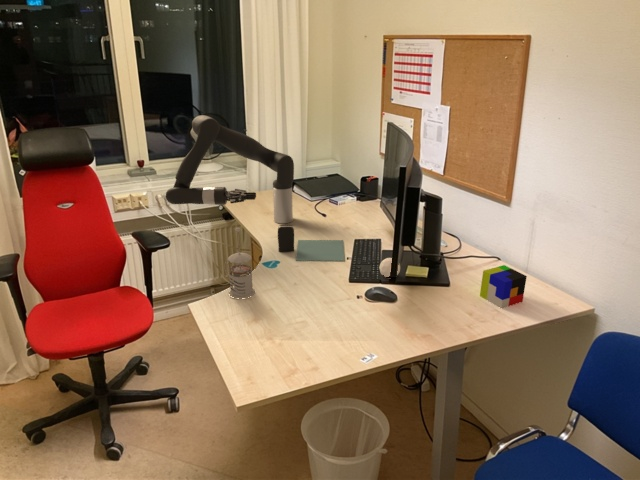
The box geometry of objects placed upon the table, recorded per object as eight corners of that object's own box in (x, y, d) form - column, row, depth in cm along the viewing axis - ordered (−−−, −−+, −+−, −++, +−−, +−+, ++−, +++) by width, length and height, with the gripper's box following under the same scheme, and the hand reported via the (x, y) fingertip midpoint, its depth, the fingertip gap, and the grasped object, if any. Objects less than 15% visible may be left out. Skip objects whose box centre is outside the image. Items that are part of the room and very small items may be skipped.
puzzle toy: (501, 308, 172) (505, 282, 168) (479, 296, 180) (483, 270, 177) (522, 302, 177) (526, 276, 173) (500, 290, 185) (504, 265, 181)
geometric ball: (394, 283, 195) (407, 270, 191) (379, 281, 191) (392, 268, 186) (387, 267, 200) (400, 255, 195) (372, 264, 195) (384, 252, 191)
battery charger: (294, 248, 220) (293, 223, 216) (294, 251, 216) (294, 226, 212) (278, 248, 219) (277, 223, 215) (278, 252, 216) (277, 227, 212)
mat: (298, 240, 228) (298, 239, 228) (342, 240, 228) (342, 240, 228) (295, 261, 208) (295, 260, 208) (344, 261, 208) (344, 260, 207)
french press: (243, 302, 176) (239, 235, 167) (218, 293, 182) (212, 228, 172) (261, 290, 184) (258, 226, 174) (236, 283, 190) (232, 219, 180)
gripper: (210, 192, 208) (253, 192, 208) (217, 182, 221) (257, 182, 221) (212, 209, 211) (254, 209, 211) (218, 199, 224) (258, 199, 224)
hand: (255, 196), depth 216 cm, fingers closed
